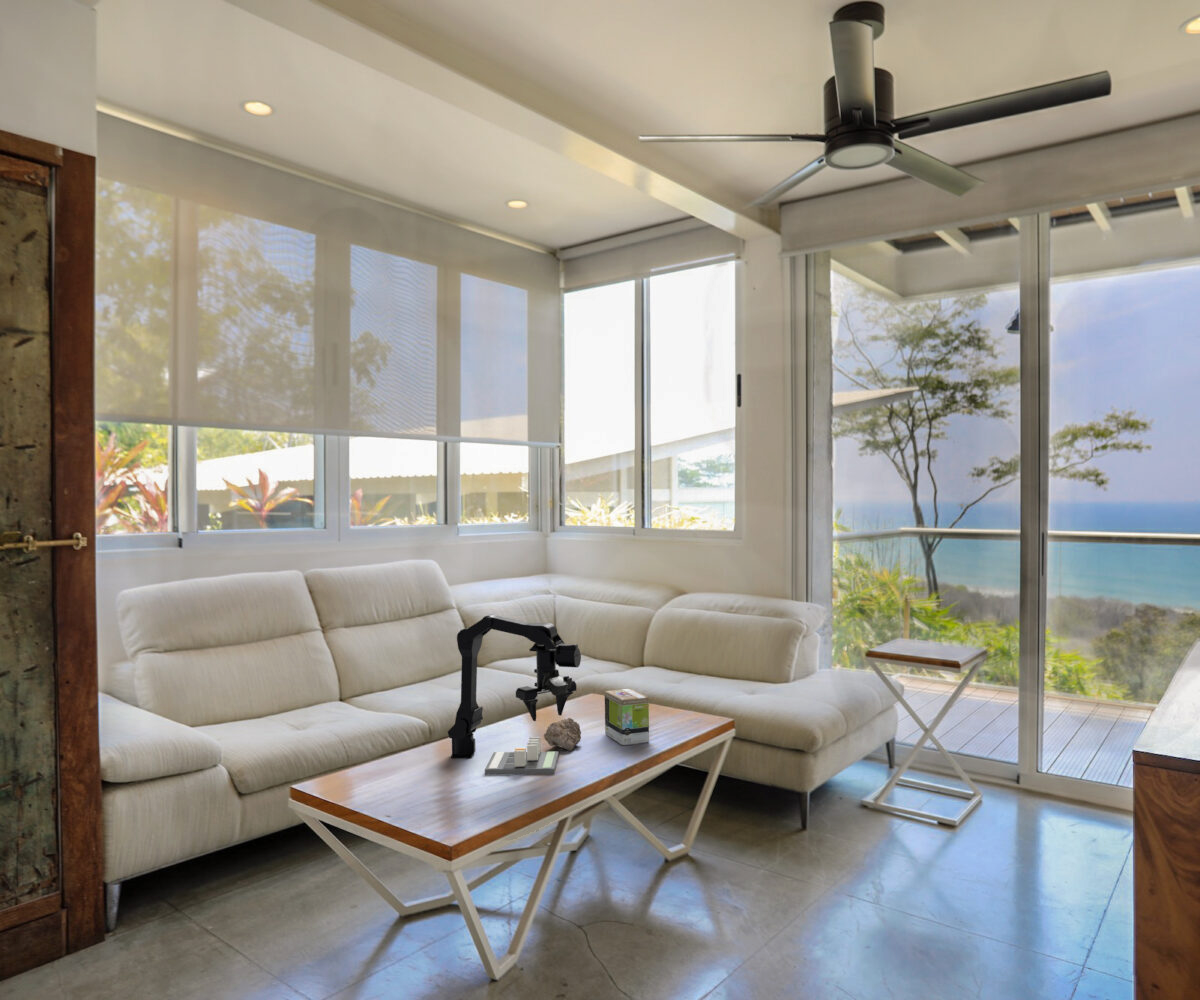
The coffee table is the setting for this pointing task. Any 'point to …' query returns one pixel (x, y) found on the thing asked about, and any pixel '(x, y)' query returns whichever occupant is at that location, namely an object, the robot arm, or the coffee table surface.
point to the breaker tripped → (520, 756)
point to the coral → (563, 734)
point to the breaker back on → (535, 739)
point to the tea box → (627, 716)
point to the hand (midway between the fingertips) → (547, 718)
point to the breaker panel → (506, 765)
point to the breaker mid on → (532, 751)
